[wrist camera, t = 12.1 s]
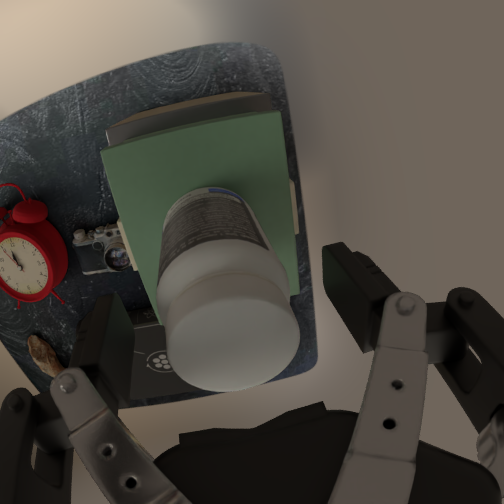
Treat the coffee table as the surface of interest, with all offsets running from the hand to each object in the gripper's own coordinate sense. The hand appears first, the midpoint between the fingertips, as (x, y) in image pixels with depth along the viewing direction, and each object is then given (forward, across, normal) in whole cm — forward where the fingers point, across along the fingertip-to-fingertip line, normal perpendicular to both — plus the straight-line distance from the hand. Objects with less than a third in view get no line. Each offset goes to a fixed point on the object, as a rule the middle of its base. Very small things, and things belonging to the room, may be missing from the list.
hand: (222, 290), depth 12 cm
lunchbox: (+10, 0, 0) cm, 10 cm away
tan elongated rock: (+23, +30, +22) cm, 44 cm away
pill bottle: (+5, 0, 0) cm, 5 cm away
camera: (+23, +11, +7) cm, 27 cm away
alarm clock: (+23, +22, +4) cm, 33 cm away
